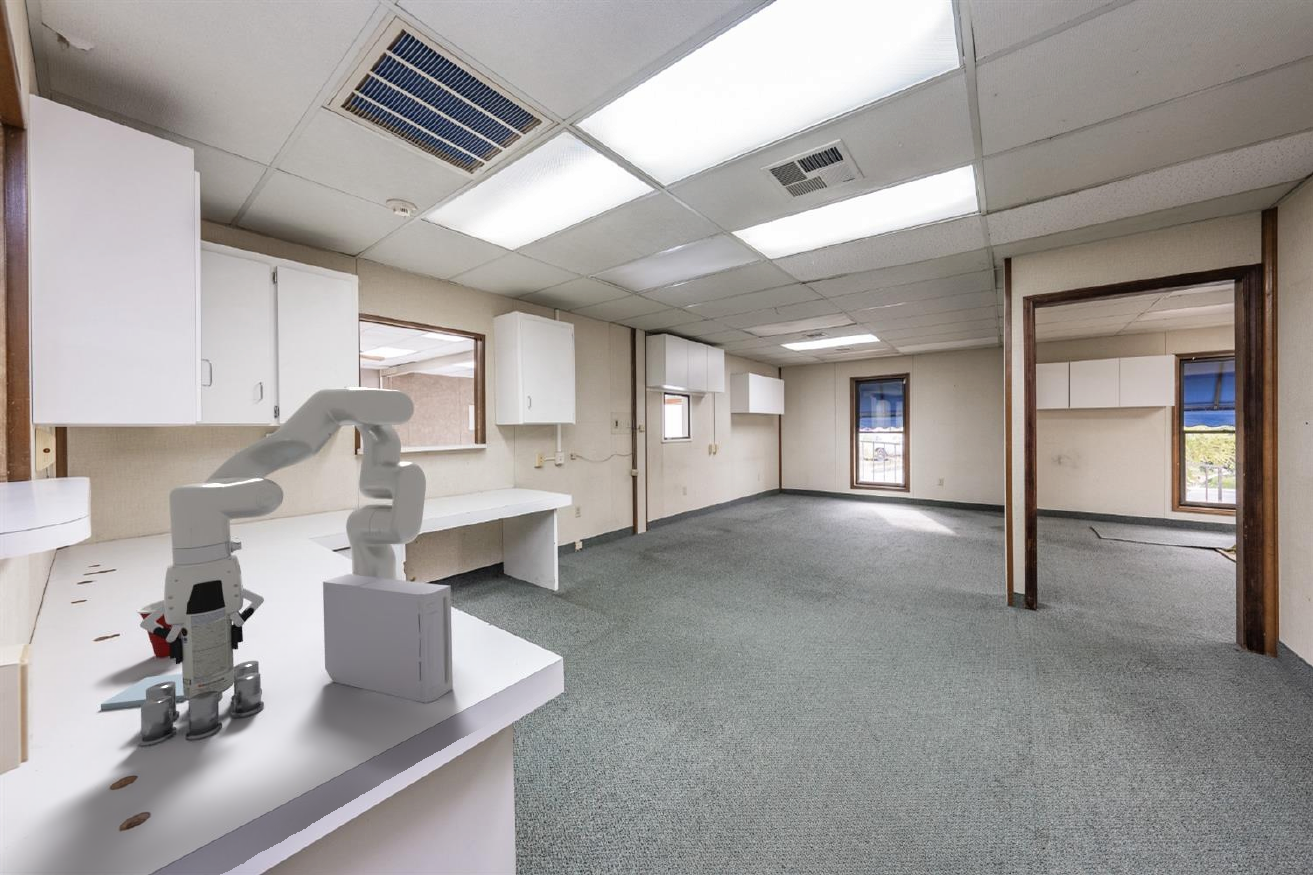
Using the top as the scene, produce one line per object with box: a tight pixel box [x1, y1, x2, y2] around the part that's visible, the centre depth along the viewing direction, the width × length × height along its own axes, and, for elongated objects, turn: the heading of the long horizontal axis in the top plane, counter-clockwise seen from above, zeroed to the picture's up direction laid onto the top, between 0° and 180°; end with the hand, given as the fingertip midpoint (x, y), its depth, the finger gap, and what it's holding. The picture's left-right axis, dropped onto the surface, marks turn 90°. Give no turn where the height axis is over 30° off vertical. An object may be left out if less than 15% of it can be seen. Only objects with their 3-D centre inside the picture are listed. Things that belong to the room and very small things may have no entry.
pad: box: [100, 673, 187, 711], centre depth 94 cm, size 13×10×1 cm
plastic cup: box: [136, 599, 181, 659], centre depth 111 cm, size 11×11×12 cm
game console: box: [322, 573, 454, 704], centre depth 95 cm, size 6×27×20 cm, turn 70°
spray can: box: [181, 580, 235, 701], centre depth 85 cm, size 7×7×20 cm
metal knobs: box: [137, 660, 265, 748], centre depth 85 cm, size 17×16×6 cm
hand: (208, 653), depth 85 cm, fingers closed on spray can, 6 cm apart
